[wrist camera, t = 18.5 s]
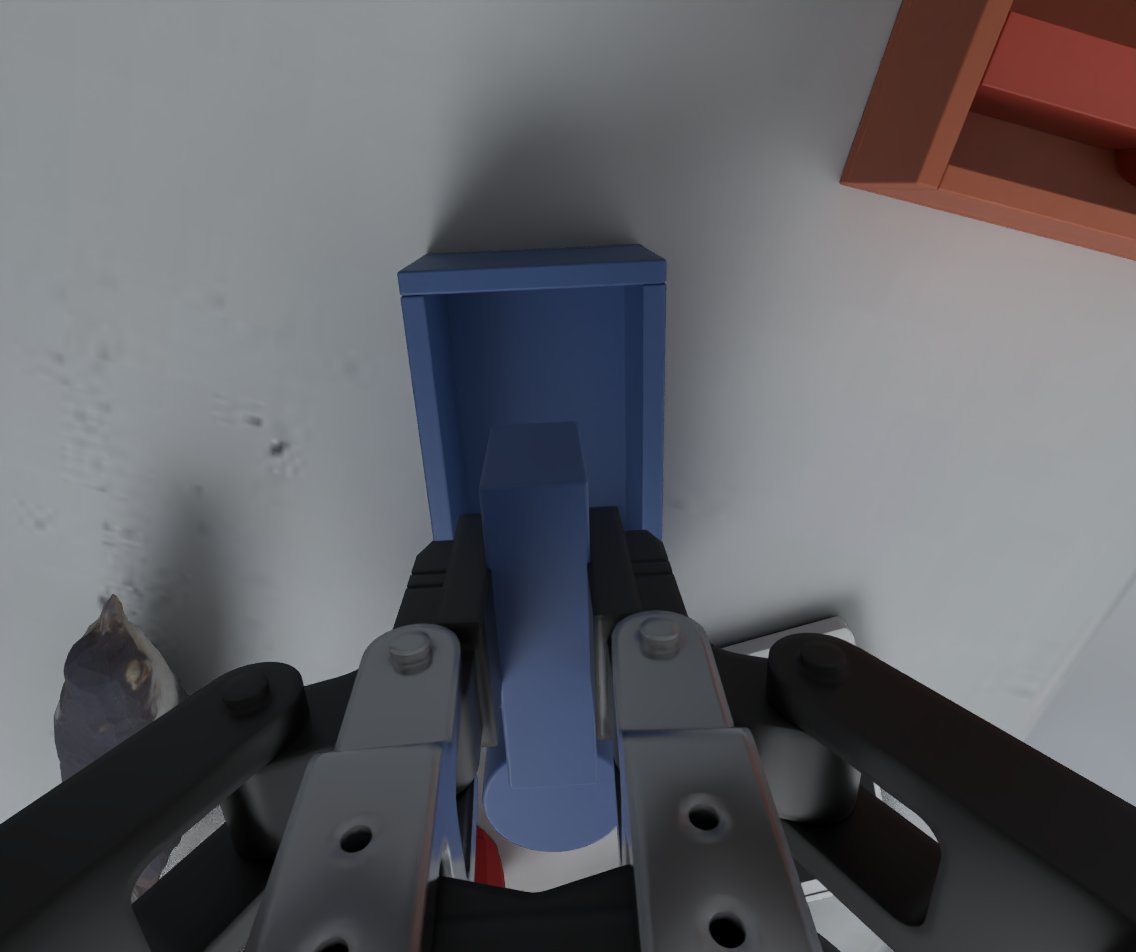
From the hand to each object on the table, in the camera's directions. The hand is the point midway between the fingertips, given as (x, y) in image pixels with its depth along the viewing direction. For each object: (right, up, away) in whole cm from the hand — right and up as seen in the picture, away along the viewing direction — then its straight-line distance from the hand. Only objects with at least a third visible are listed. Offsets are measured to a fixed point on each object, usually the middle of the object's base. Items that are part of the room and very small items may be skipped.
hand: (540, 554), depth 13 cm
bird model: (-16, -8, +15) cm, 23 cm away
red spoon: (+15, +12, +7) cm, 20 cm away
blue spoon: (0, -2, +1) cm, 2 cm away
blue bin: (0, +3, +11) cm, 11 cm away
